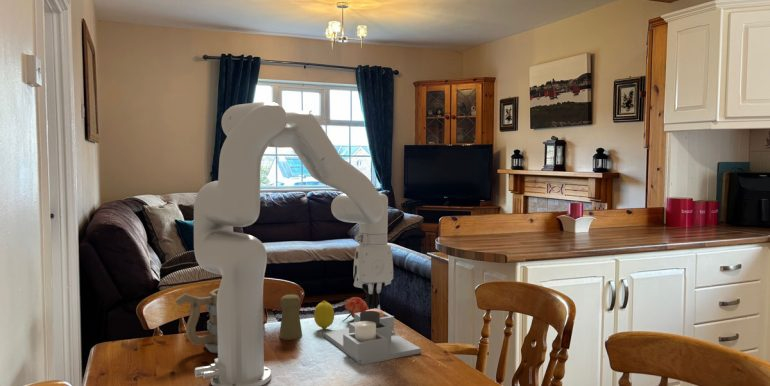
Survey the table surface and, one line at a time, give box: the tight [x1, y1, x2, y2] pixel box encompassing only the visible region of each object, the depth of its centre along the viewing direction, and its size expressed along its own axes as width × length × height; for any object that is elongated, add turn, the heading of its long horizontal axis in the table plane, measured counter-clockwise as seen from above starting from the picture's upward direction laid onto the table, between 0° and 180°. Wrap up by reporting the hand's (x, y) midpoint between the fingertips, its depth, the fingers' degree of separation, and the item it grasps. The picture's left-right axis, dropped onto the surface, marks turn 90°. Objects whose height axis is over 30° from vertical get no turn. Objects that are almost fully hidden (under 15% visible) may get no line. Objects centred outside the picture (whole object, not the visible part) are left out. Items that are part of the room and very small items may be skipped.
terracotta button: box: [366, 308, 383, 318], centre depth 153 cm, size 5×5×4 cm
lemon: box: [313, 300, 335, 330], centre depth 156 cm, size 6×6×8 cm
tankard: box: [175, 287, 219, 354], centre depth 141 cm, size 20×13×15 cm, turn 122°
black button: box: [360, 311, 380, 328], centre depth 144 cm, size 5×5×4 cm
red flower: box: [341, 296, 369, 323], centre depth 164 cm, size 7×7×10 cm
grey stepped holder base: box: [322, 310, 422, 366], centre depth 144 cm, size 18×23×5 cm
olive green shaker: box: [278, 294, 303, 341], centre depth 150 cm, size 6×6×11 cm
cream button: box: [355, 321, 376, 342], centre depth 135 cm, size 5×5×4 cm
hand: (372, 307), depth 152 cm, fingers closed
